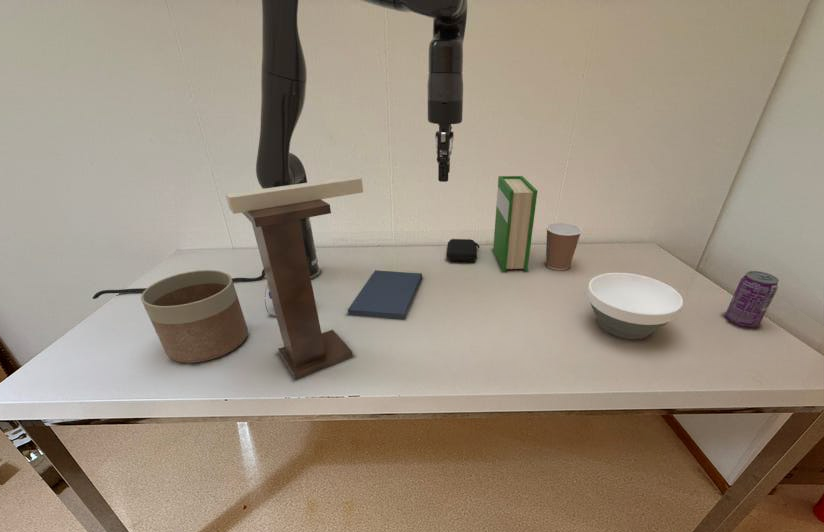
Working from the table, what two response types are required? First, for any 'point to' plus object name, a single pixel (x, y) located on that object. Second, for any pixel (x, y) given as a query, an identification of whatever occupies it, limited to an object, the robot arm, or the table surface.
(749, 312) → the beverage can
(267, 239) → the pedestal
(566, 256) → the coffee cup
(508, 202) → the hardback book
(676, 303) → the bowl
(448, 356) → the table surface
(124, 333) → the table surface
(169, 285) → the planter
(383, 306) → the notebook
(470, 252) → the carrying case
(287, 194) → the rod
